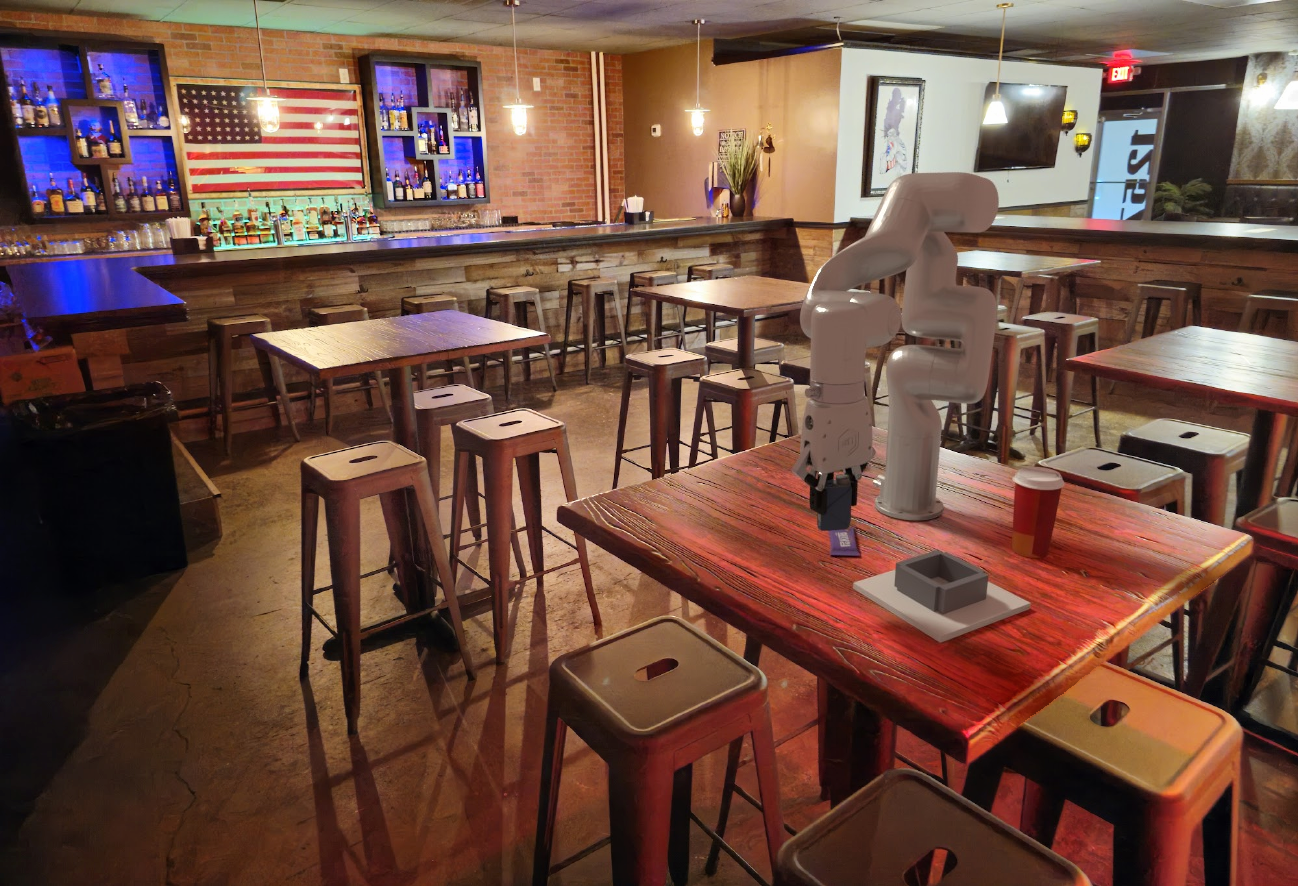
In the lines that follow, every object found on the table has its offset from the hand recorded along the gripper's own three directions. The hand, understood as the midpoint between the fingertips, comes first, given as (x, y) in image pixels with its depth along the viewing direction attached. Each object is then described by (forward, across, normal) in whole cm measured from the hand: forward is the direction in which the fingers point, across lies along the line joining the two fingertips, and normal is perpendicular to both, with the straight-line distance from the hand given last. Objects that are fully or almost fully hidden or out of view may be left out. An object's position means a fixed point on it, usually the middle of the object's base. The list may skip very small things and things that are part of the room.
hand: (833, 506), depth 123 cm
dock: (+15, +13, -10) cm, 22 cm away
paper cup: (+16, +38, -6) cm, 42 cm away
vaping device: (+4, 0, 0) cm, 4 cm away
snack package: (+16, +14, +13) cm, 25 cm away
